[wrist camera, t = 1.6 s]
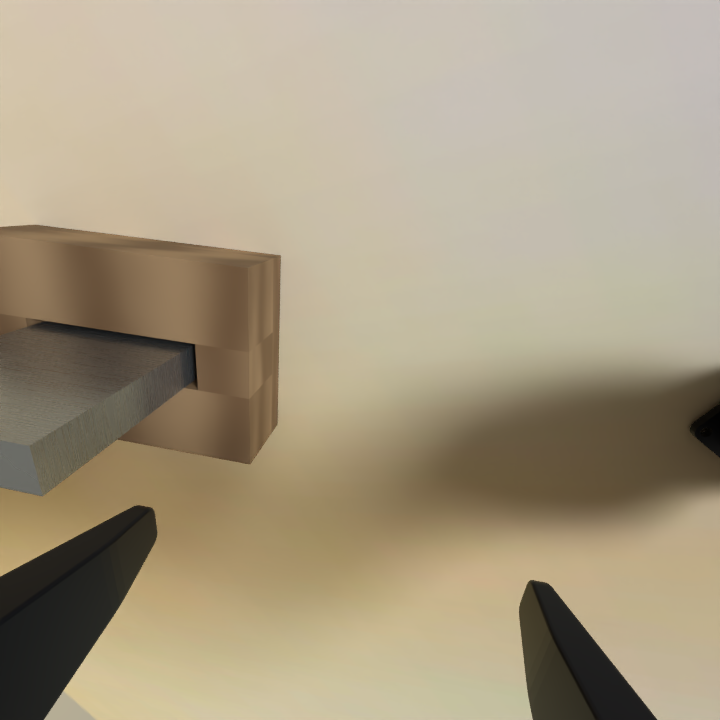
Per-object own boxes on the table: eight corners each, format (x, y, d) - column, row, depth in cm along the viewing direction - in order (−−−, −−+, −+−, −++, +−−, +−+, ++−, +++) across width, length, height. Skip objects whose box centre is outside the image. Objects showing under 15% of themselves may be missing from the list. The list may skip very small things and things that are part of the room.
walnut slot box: (280, 255, 20) (247, 268, 17) (277, 424, 24) (250, 464, 21) (35, 224, 22) (-45, 229, 18) (68, 387, 26) (8, 418, 22)
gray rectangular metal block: (218, 329, 21) (29, 446, 11) (219, 360, 22) (42, 495, 12) (82, 309, 22) (-205, 400, 12) (88, 339, 23) (-180, 449, 13)
